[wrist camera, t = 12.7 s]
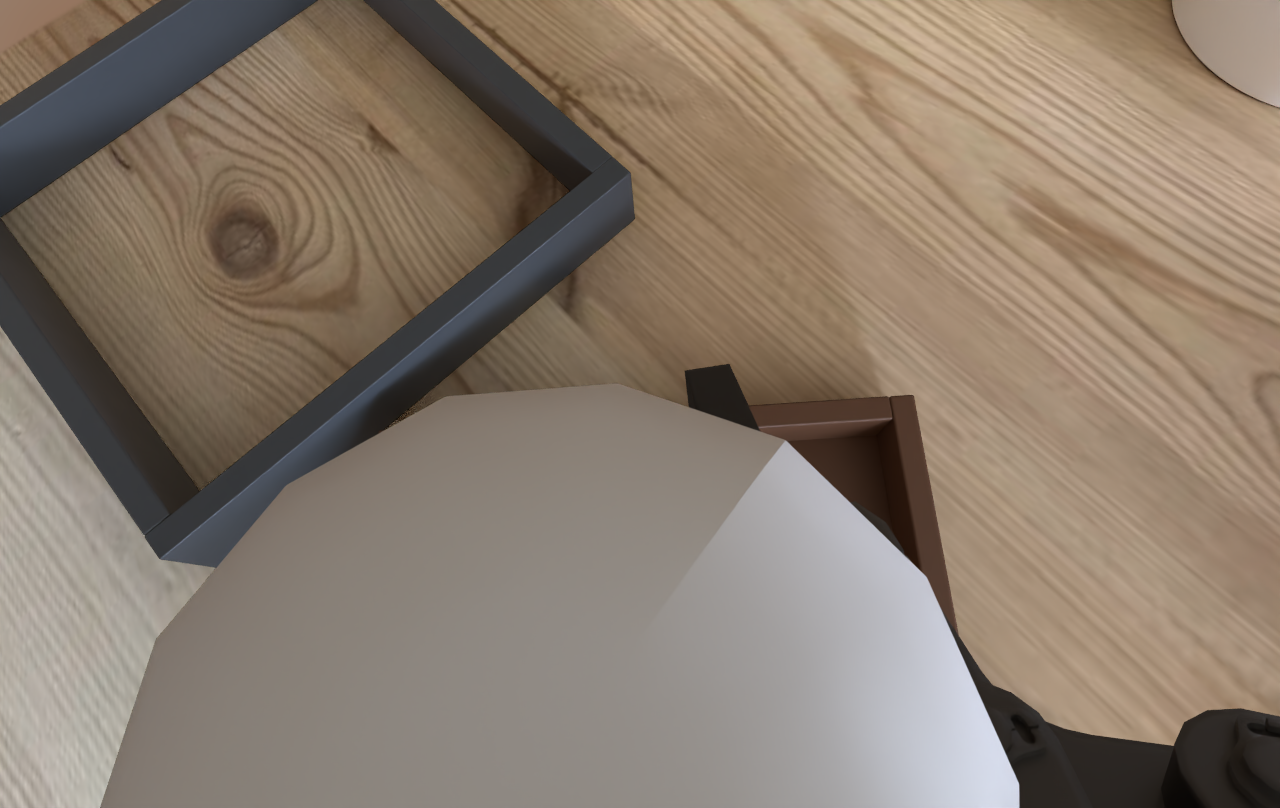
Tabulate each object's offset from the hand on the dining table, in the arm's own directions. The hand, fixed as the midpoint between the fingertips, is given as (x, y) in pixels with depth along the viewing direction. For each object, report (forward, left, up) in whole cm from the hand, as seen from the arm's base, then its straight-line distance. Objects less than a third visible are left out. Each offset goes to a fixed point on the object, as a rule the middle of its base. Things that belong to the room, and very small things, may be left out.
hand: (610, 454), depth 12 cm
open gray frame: (-14, +14, -13) cm, 23 cm away
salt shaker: (0, -4, -4) cm, 6 cm away
